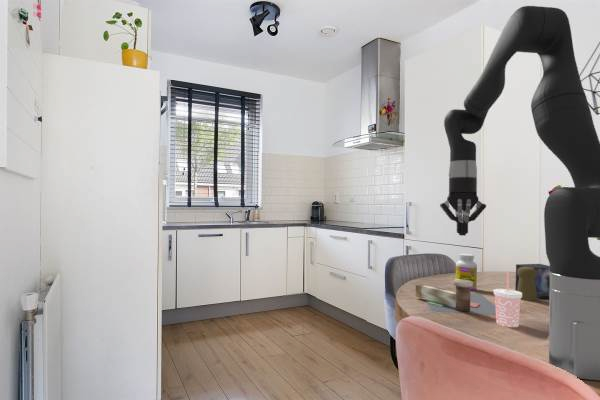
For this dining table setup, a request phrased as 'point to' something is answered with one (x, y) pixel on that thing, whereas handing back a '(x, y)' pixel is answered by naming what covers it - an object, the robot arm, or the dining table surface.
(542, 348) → the dining table surface
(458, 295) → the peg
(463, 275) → the supplement bottle
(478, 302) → the grey flat slab
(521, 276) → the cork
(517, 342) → the dining table surface
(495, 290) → the beverage cup
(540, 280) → the small box
